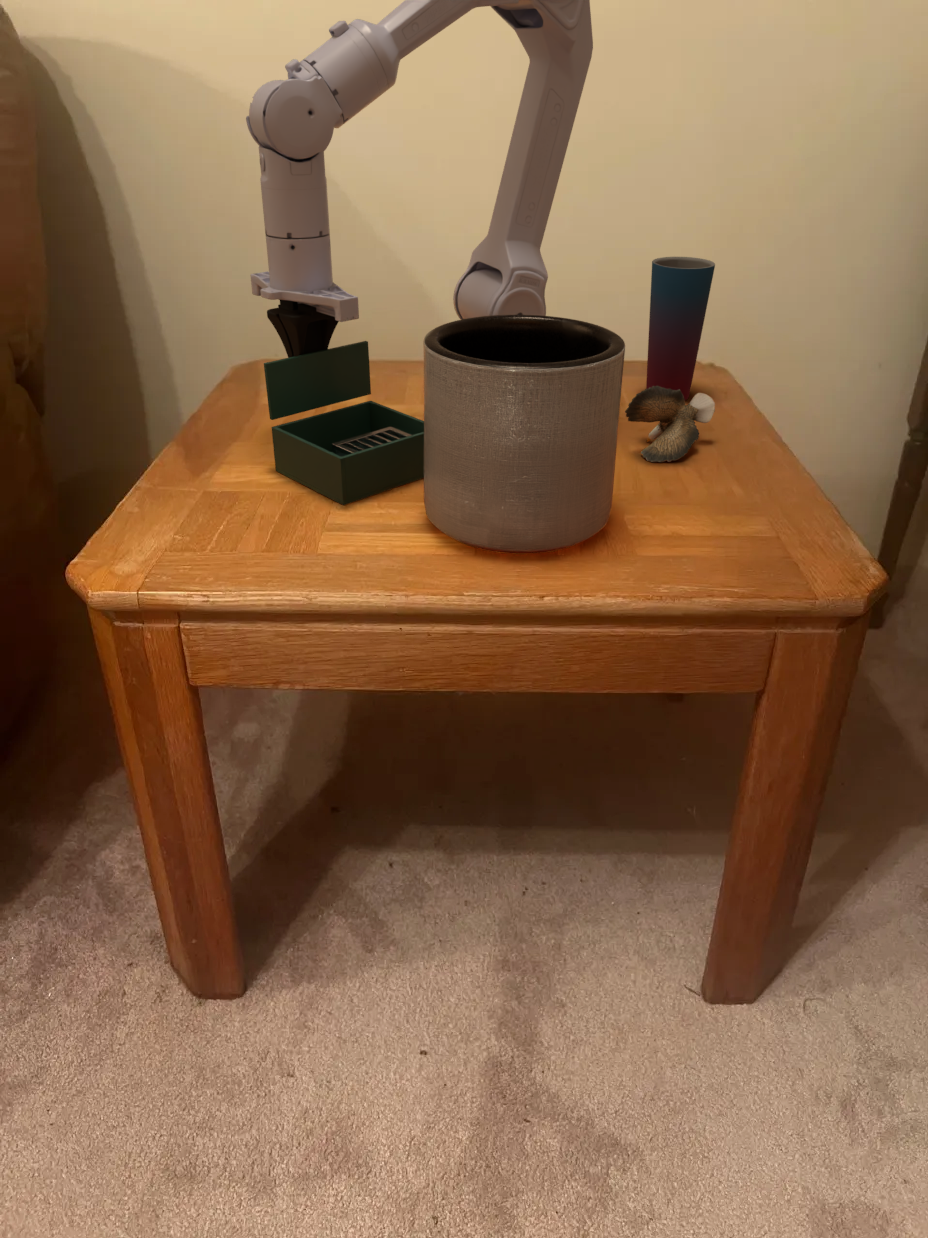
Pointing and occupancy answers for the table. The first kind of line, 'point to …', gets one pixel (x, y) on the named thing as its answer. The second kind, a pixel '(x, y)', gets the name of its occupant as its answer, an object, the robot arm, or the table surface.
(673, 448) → the mushroom cluster
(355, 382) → the lid
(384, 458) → the green box
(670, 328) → the cup
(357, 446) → the rack
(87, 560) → the table surface
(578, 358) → the planter
